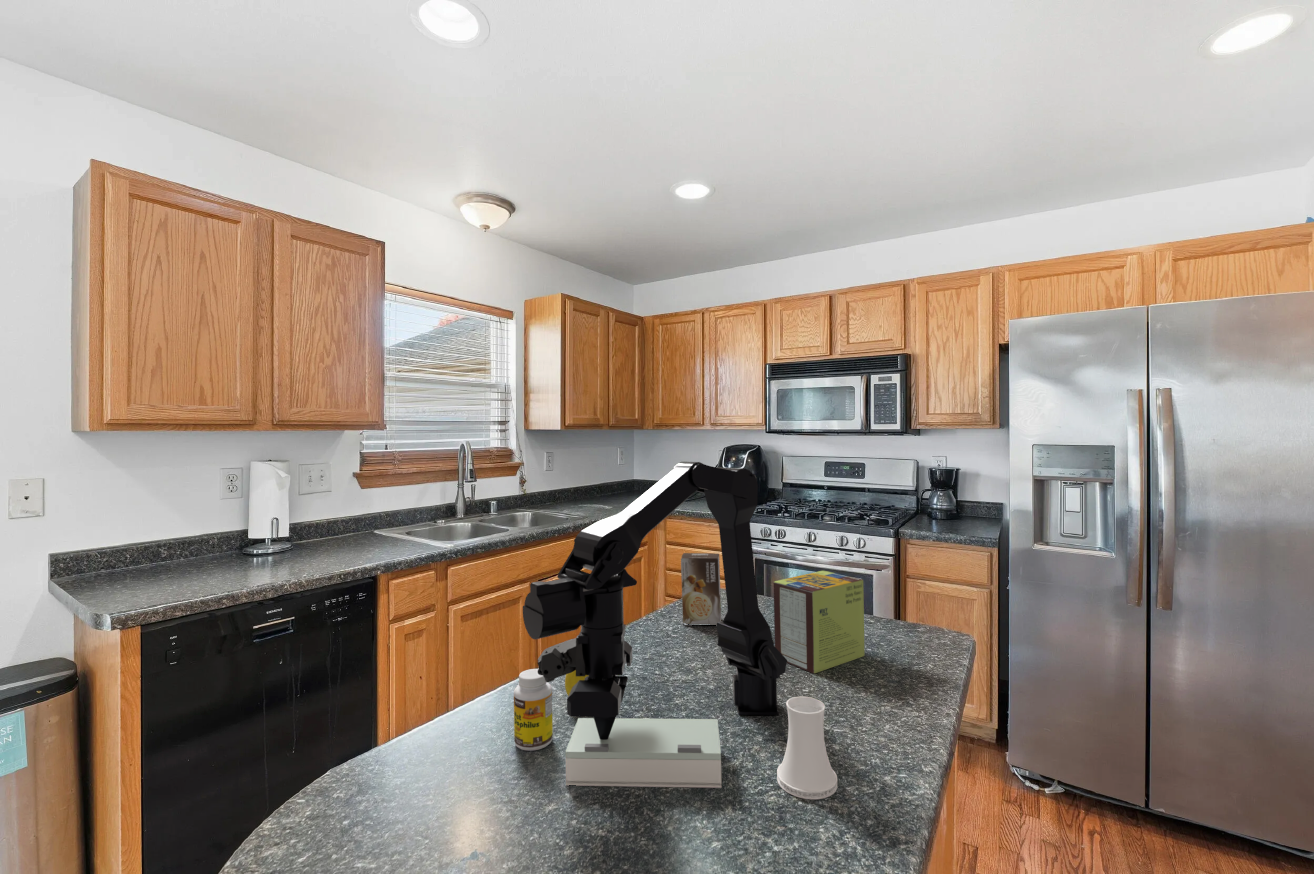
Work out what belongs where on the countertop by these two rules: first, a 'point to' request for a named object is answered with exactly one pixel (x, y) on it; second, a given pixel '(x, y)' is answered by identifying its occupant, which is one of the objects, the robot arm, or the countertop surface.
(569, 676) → the lemon
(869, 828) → the countertop surface
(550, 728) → the supplement bottle
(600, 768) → the cable duct
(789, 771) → the vase
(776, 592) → the protein box
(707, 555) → the coffee box
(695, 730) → the lid
